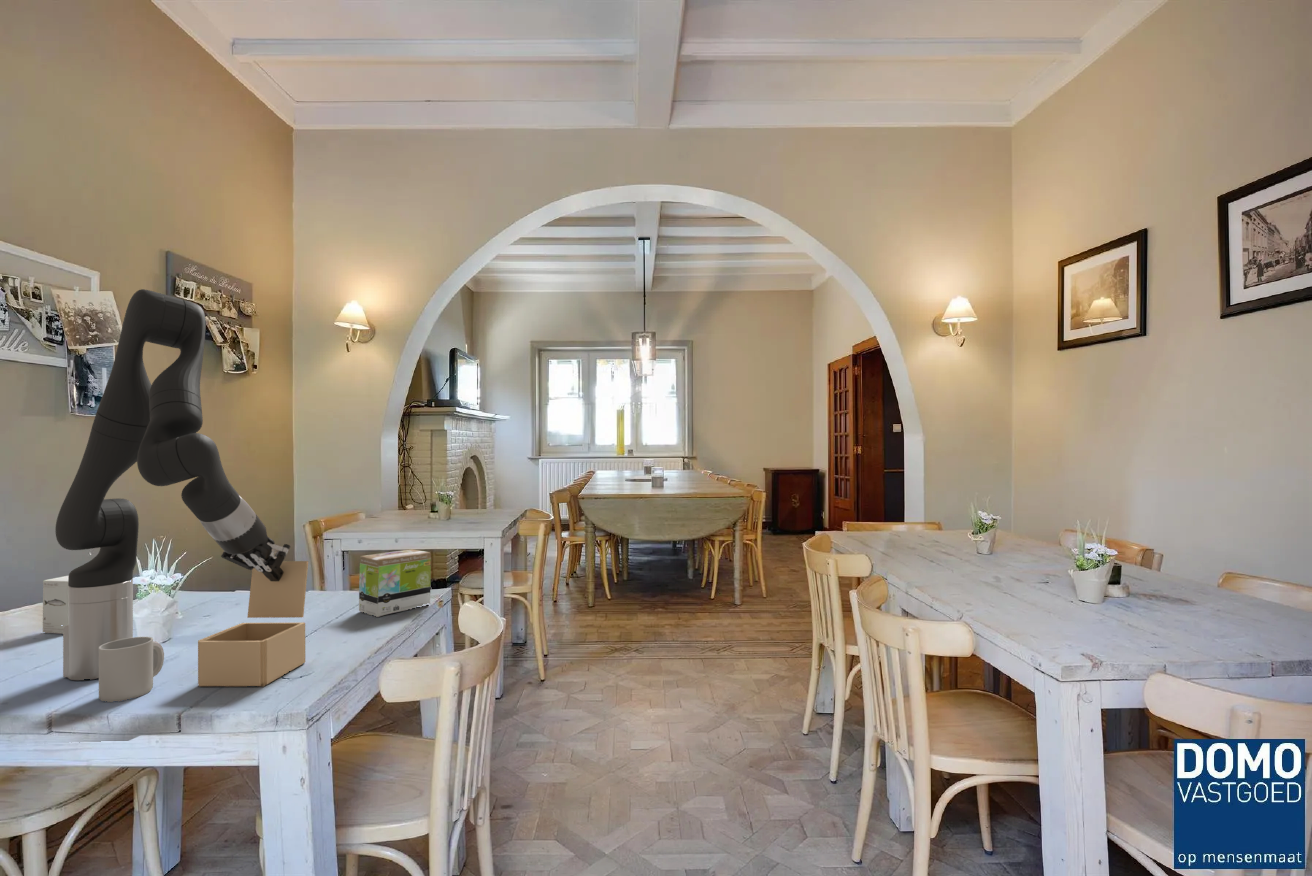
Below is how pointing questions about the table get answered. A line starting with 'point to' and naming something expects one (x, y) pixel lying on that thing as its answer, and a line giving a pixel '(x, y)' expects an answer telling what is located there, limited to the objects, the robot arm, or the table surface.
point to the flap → (279, 592)
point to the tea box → (394, 581)
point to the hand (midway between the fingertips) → (277, 577)
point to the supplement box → (55, 605)
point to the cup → (128, 668)
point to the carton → (250, 654)
